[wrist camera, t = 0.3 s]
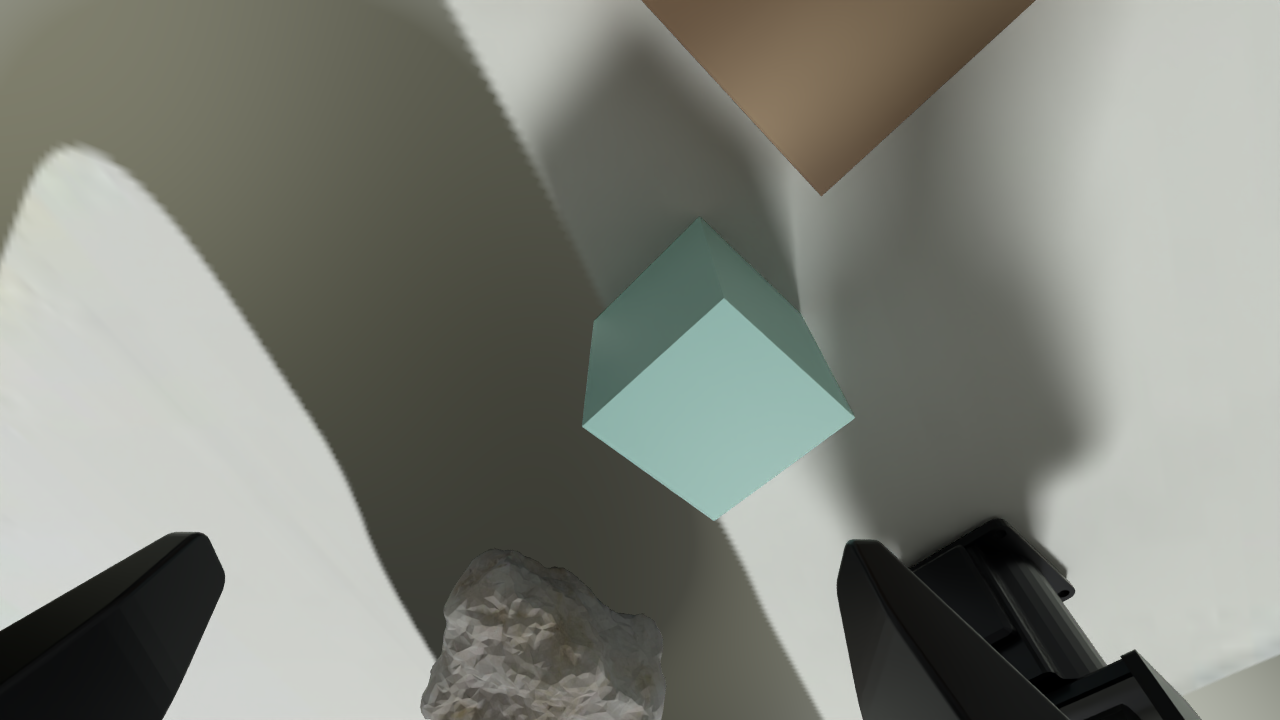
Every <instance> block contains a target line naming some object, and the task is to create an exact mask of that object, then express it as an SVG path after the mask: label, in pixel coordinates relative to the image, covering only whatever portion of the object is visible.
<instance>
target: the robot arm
mask: <svg viewBox="0 0 1280 720" xmlns="http://www.w3.org/2000/svg"><path fill="white" fill-rule="evenodd" d="M224 583H225V573H224V570H223V568H222V565H221V563H220V561H219V559H218V557H217V555H216V553H215V550H214V548H213V546H212V544H211V542H210V540H209V538H208V537H207V536H206V535H205V534H203V533H200V532H174V533H170V534H167V535H165V536H164V537H162V538H160V539H158V540H157V541H155V542H153V543H151V544H150V545H148V546H146V547H145V548H143V549H141V550H139V551H138V552H136V553H134V554H132V555H131V556H129V557H127V558H126V559H124V560H122V561H120V562H119V563H117V564H115V565H113V566H112V567H110V568H108V569H107V570H105V571H103V572H101V573H100V574H98V575H96V576H95V577H93V578H91V579H89V580H88V581H86V582H84V583H82V584H81V585H79V586H77V587H76V588H74V589H72V590H70V591H69V592H67V593H65V594H63V595H62V596H60V597H58V598H57V599H55V600H53V601H51V602H50V603H48V604H46V605H44V606H43V607H41V608H39V609H38V610H36V611H34V612H32V613H31V614H29V615H27V616H25V617H24V618H22V619H20V620H19V621H17V622H15V623H13V624H12V625H10V626H8V627H6V628H5V629H3V630H1V631H0V720H162V719H163V718H164V716H165V714H166V712H167V710H168V708H169V706H170V705H171V703H172V701H173V699H174V697H175V695H176V693H177V691H178V689H179V687H180V684H181V682H182V680H183V678H184V676H185V674H186V672H187V669H188V667H189V665H190V663H191V660H192V658H193V656H194V654H195V651H196V649H197V647H198V645H199V642H200V640H201V638H202V636H203V633H204V631H205V629H206V627H207V624H208V622H209V620H210V618H211V616H212V613H213V611H214V609H215V607H216V604H217V602H218V600H219V598H220V595H221V593H222V591H223V588H224ZM1074 594H1075V589H1074V587H1073V586H1072V585H1071V583H1070V582H1069V581H1068V580H1067V579H1066V578H1065V577H1064V576H1063V575H1062V574H1061V573H1060V572H1059V571H1058V570H1057V569H1056V568H1055V567H1054V566H1053V565H1051V564H1050V563H1049V562H1048V561H1047V560H1046V559H1045V558H1044V557H1043V556H1042V555H1041V554H1040V553H1039V552H1038V551H1037V550H1036V549H1035V548H1034V547H1033V546H1032V545H1030V544H1029V543H1028V542H1027V541H1026V540H1025V539H1024V538H1023V537H1022V536H1021V535H1020V534H1019V533H1018V532H1017V531H1016V530H1015V529H1014V528H1013V527H1012V526H1010V525H1009V524H1008V523H1007V522H1006V521H1005V520H1003V519H994V520H992V521H989V522H987V523H986V524H984V525H982V526H981V527H979V528H977V529H976V530H974V531H972V532H971V533H969V534H967V535H966V536H964V537H962V538H961V539H959V540H957V541H956V542H954V543H952V544H951V545H949V546H947V547H946V548H944V549H942V550H941V551H939V552H937V553H936V554H934V555H932V556H931V557H929V558H927V559H926V560H924V561H922V562H921V563H919V564H917V565H916V566H914V567H912V568H911V569H909V568H908V567H906V566H905V565H904V564H903V563H902V562H901V561H900V560H899V559H898V558H897V557H896V556H895V555H894V554H893V553H892V552H890V551H889V550H888V549H887V548H886V547H885V546H884V545H883V544H882V543H880V542H879V541H877V540H860V539H852V540H849V541H848V542H847V543H846V545H845V548H844V552H843V556H842V561H841V565H840V569H839V573H838V578H837V597H838V602H839V607H840V612H841V617H842V622H843V628H844V633H845V638H846V643H847V648H848V653H849V658H850V663H851V668H852V673H853V679H854V684H855V689H856V693H857V698H858V702H859V707H860V710H861V714H862V717H863V720H1201V718H1200V717H1199V716H1198V715H1197V713H1196V712H1195V711H1194V710H1193V708H1192V707H1191V706H1190V705H1189V704H1188V702H1187V701H1186V700H1185V699H1184V698H1183V697H1182V696H1181V695H1180V694H1179V693H1178V692H1177V691H1176V690H1175V689H1174V688H1173V687H1172V686H1171V685H1170V684H1169V683H1168V682H1167V681H1166V680H1165V679H1164V678H1163V677H1162V676H1161V675H1160V674H1159V673H1158V672H1157V671H1156V670H1155V669H1154V668H1153V667H1152V666H1151V665H1150V664H1149V663H1148V662H1147V661H1146V660H1145V659H1144V658H1143V657H1142V656H1141V655H1140V654H1139V653H1138V652H1137V651H1136V650H1133V651H1130V652H1128V653H1126V654H1124V655H1122V656H1120V657H1121V658H1122V659H1120V660H1118V661H1116V662H1114V663H1112V664H1109V665H1107V664H1106V663H1105V662H1104V660H1103V659H1102V657H1101V656H1100V654H1099V653H1098V652H1097V650H1096V649H1095V647H1094V646H1093V645H1092V643H1091V642H1090V640H1089V639H1088V637H1087V636H1086V635H1085V633H1084V632H1083V630H1082V629H1081V628H1080V626H1079V625H1078V623H1077V622H1076V620H1075V619H1074V618H1073V616H1072V615H1071V613H1070V612H1069V610H1068V609H1067V608H1066V606H1065V605H1064V603H1063V602H1064V601H1065V600H1067V599H1069V598H1071V597H1072V596H1073V595H1074Z"/></svg>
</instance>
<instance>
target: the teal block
mask: <svg viewBox="0 0 1280 720" xmlns="http://www.w3.org/2000/svg"><path fill="white" fill-rule="evenodd" d="M587 379H588V380H587V387H586V396H585V405H584V414H583V423H582V427H584V428H585V429H586V430H588V431H589V432H591V433H592V434H593V435H595V436H596V437H598V438H599V439H600V440H602V441H603V442H605V443H606V444H607V445H609V446H610V447H612V448H613V449H614V450H616V451H617V452H618V453H620V454H621V455H623V456H624V457H625V458H627V459H628V460H630V461H631V462H633V463H634V464H635V465H637V466H638V467H639V468H641V469H642V470H644V471H645V472H646V473H648V474H649V475H651V476H652V477H653V478H655V479H656V480H658V481H659V482H660V483H662V484H663V485H665V486H666V487H667V488H669V489H670V490H672V491H673V492H674V493H676V494H677V495H678V496H680V497H681V498H683V499H684V500H685V501H687V502H688V503H690V504H691V505H693V506H694V507H695V508H697V509H698V510H699V511H701V512H702V513H704V514H705V515H706V516H708V517H709V518H711V519H712V520H713V521H715V520H716V519H718V518H719V517H720V516H722V515H723V514H725V513H726V512H727V511H729V510H730V509H731V508H733V507H734V506H735V505H737V504H738V503H740V502H741V501H742V500H744V499H745V498H746V497H748V496H749V495H751V494H752V493H753V492H755V491H756V490H757V489H759V488H760V487H761V486H763V485H764V484H766V483H767V482H768V481H770V480H771V479H772V478H774V477H775V476H777V475H778V474H779V473H781V472H782V471H783V470H785V469H786V468H787V467H789V466H790V465H792V464H793V463H794V462H796V461H797V460H798V459H800V458H801V457H802V456H804V455H805V454H807V453H808V452H809V451H811V450H812V449H813V448H815V447H816V446H818V445H819V444H820V443H822V442H823V441H824V440H826V439H827V438H828V437H830V436H831V435H833V434H834V433H835V432H837V431H838V430H839V429H841V428H842V427H844V426H845V425H846V424H848V423H849V422H850V421H852V420H853V419H854V418H855V416H854V414H853V413H852V411H851V409H850V407H849V405H848V403H847V401H846V399H845V397H844V395H843V393H842V392H841V390H840V388H839V386H838V384H837V382H836V380H835V378H834V376H833V374H832V372H831V371H830V369H829V367H828V365H827V363H826V361H825V359H824V357H823V355H822V353H821V351H820V349H819V348H818V346H817V344H816V342H815V340H814V338H813V336H812V334H811V332H810V330H809V328H808V327H807V325H806V323H805V321H804V319H803V317H802V315H801V314H800V313H799V312H798V311H797V310H796V309H795V308H794V307H793V306H792V305H791V304H790V303H789V302H788V301H787V300H786V299H785V298H784V297H783V296H782V295H781V294H780V293H778V292H777V291H776V290H775V289H774V288H773V287H772V286H771V285H770V284H769V283H768V282H767V281H766V280H765V279H764V278H763V277H762V276H761V275H760V274H759V273H758V272H757V271H756V270H755V269H754V268H753V267H751V266H750V265H749V264H748V263H747V262H746V261H745V260H744V259H743V258H742V257H741V256H740V255H739V254H738V253H737V252H736V251H735V250H734V249H733V248H732V247H731V246H730V245H729V244H728V243H727V242H726V241H724V240H723V239H722V238H721V237H720V236H719V235H718V234H717V233H716V232H715V231H714V230H713V229H712V228H711V227H710V226H709V225H708V224H707V223H706V222H705V221H704V220H703V219H702V218H701V217H700V216H699V217H698V218H697V219H696V220H695V221H694V222H693V223H692V224H691V225H690V226H689V227H688V228H687V229H686V230H685V231H684V232H683V233H682V234H681V235H680V236H679V237H678V238H677V239H676V240H675V241H674V242H673V243H672V244H671V245H670V246H669V247H668V248H667V249H666V250H665V251H664V252H663V253H662V254H661V255H660V256H659V257H658V258H657V259H656V260H655V261H654V262H653V263H652V264H651V265H650V266H649V267H648V268H647V269H646V270H645V271H644V272H643V273H642V274H641V275H640V276H639V277H638V278H637V279H636V280H635V281H634V282H633V283H632V284H631V285H630V286H629V287H628V288H627V289H626V290H625V291H624V292H623V293H622V294H621V295H620V296H619V297H618V298H617V299H616V300H615V301H614V302H613V303H612V304H611V305H610V306H609V307H608V308H607V309H605V310H604V311H603V312H602V313H601V314H600V315H599V316H598V317H597V318H596V319H595V320H594V326H593V335H592V343H591V352H590V361H589V370H588V378H587Z"/></svg>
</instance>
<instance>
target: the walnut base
mask: <svg viewBox="0 0 1280 720" xmlns="http://www.w3.org/2000/svg"><path fill="white" fill-rule="evenodd" d="M642 1H643V2H644V4H645V5H646V6H647V7H648V8H649V9H650V10H651V11H652V12H653V13H654V14H655V16H656V17H657V18H658V19H659V20H660V21H661V22H662V23H663V24H664V25H665V26H666V28H667V29H668V30H669V31H670V32H671V33H672V34H673V35H674V36H675V37H676V38H677V40H678V41H679V42H680V43H681V44H682V45H683V46H684V47H685V48H686V49H687V50H688V52H689V53H690V54H691V55H692V56H693V57H694V58H695V59H696V60H697V61H698V62H699V64H700V65H701V66H702V67H703V68H704V69H705V70H706V71H707V72H708V73H709V74H710V76H711V77H712V78H713V79H714V80H715V81H716V82H717V83H718V84H719V85H720V86H721V88H722V89H723V90H724V91H725V92H726V93H727V94H728V95H729V96H730V97H731V98H732V100H733V101H734V102H735V103H736V104H737V105H738V106H739V107H740V108H741V109H742V110H743V112H744V113H745V114H746V115H747V116H748V117H749V118H750V119H751V120H752V121H753V122H754V124H755V125H756V126H757V127H758V128H759V129H760V130H761V131H762V132H763V133H764V134H765V136H766V137H767V138H768V139H769V140H770V141H771V142H772V143H773V144H774V145H775V146H776V148H777V149H778V150H779V151H780V152H781V153H782V154H783V155H784V156H785V157H786V158H787V160H788V161H789V162H790V163H791V164H792V165H793V166H794V167H795V168H796V169H797V170H798V172H799V173H800V174H801V175H802V176H803V177H804V178H805V179H806V180H807V181H808V182H809V183H810V185H811V186H812V187H813V188H814V189H815V190H816V191H817V192H818V193H819V194H820V195H821V196H822V195H823V194H825V193H826V192H827V191H828V190H829V189H830V188H831V187H832V186H833V185H834V184H836V183H837V182H838V181H839V180H840V179H841V178H842V177H843V176H844V175H845V174H846V173H848V172H849V171H850V170H851V169H852V168H853V167H854V166H855V165H856V164H857V163H858V162H860V161H861V160H862V159H863V158H864V157H865V156H866V155H867V154H868V153H869V152H870V151H872V150H873V149H874V148H875V147H876V146H877V145H878V144H879V143H880V142H881V141H882V140H884V139H885V138H886V137H887V136H888V135H889V134H890V133H891V132H892V131H893V130H894V129H896V128H897V127H898V126H899V125H900V124H901V123H902V122H903V121H904V120H905V119H907V118H908V117H909V116H910V115H911V114H912V113H913V112H914V111H915V110H916V109H917V108H919V107H920V106H921V105H922V104H923V103H924V102H925V101H926V100H927V99H928V98H929V97H931V96H932V95H933V94H934V93H935V92H936V91H937V90H938V89H939V88H940V87H941V86H943V85H944V84H945V83H946V82H947V81H948V80H949V79H950V78H951V77H952V76H953V75H955V74H956V73H957V72H958V71H959V70H960V69H961V68H962V67H963V66H964V65H966V64H967V63H968V62H969V61H970V60H971V59H972V58H973V57H974V56H975V55H976V54H978V53H979V52H980V51H981V50H982V49H983V48H984V47H985V46H986V45H987V44H988V43H990V42H991V41H992V40H993V39H994V38H995V37H996V36H997V35H998V34H999V33H1000V32H1002V31H1003V30H1004V29H1005V28H1006V27H1007V26H1008V25H1009V24H1010V23H1011V22H1012V21H1014V20H1015V19H1016V18H1017V17H1018V16H1019V15H1020V14H1021V13H1022V12H1023V11H1024V10H1026V9H1027V8H1028V7H1029V6H1030V5H1031V4H1032V3H1033V2H1034V1H1035V0H642Z"/></svg>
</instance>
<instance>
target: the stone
mask: <svg viewBox="0 0 1280 720" xmlns="http://www.w3.org/2000/svg"><path fill="white" fill-rule="evenodd" d="M444 615H445V619H446V622H447V627H446V629H445V631H444V641H443V642H444V643H443V647H442V654H441V656H440V657H439V658H438V660H437V661H436V662H435V664H434V665H433V666H432V669H431V671H430V672H431V675H430V680H429V683H428V686H427V688H426V690H425V691H424V693H423V695H422V699H421V706H420V708H421V712H422V714H423V716H424V718H425V719H431V720H661V717H662V713H663V706H664V698H665V691H666V681H665V677H664V676H663V674H662V671H661V663H660V659H661V655H662V652H663V637H662V635H661V633H660V630H659V629H658V628H657V626H656V623H655V621H654V620H652V619H651V618H649V617H647V616H645V615H644V614H638V615H629V614H624V613H622V614H621V613H616V612H614V611H612V610H611V609H609V607H608V606H606V605H603V604H602V603H601V601H599V600H598V599H597V598H596V597H595V595H594V593H593V592H592V591H591V589H590V588H589V587H587V586H586V585H585V584H584V583H583V582H582V581H580V580H579V579H578V577H576V576H575V575H574V574H573V573H571V572H570V571H568V570H566V569H565V568H557V567H552V568H545V567H543V566H542V565H541V564H540V563H539V562H537V561H535V560H533V559H531V558H529V557H526V556H523V555H522V554H521V553H520V552H518V551H513V550H506V551H503V550H499V549H491V550H488V551H486V552H484V553H482V554H481V555H479V556H477V557H476V558H474V559H473V560H472V562H471V563H470V565H469V566H468V568H467V569H466V571H465V572H464V573H463V574H462V576H461V577H460V578H459V580H458V581H457V583H456V584H455V586H454V588H453V590H452V592H451V594H450V596H449V598H448V600H447V602H446V604H445V606H444Z"/></svg>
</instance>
